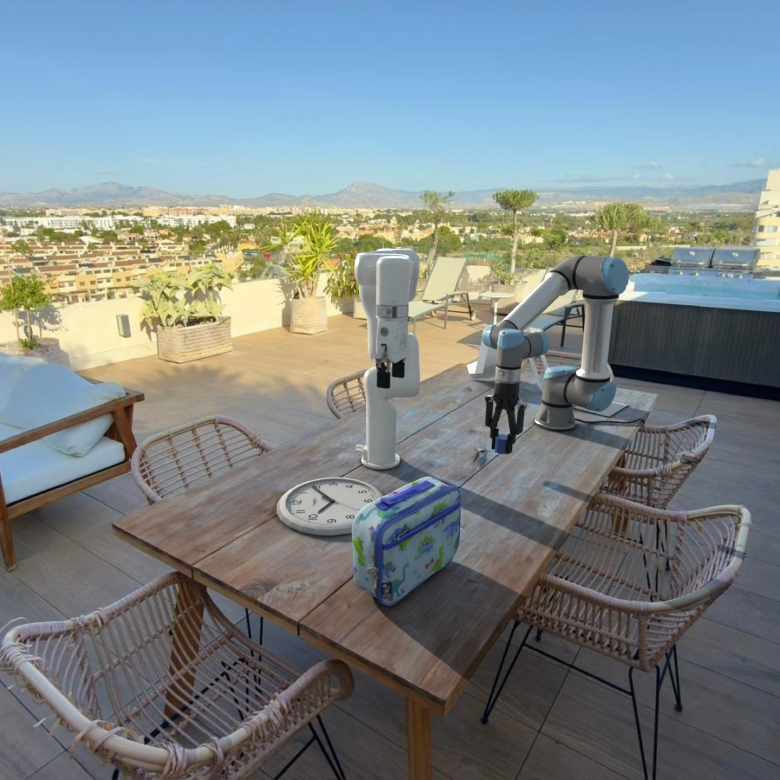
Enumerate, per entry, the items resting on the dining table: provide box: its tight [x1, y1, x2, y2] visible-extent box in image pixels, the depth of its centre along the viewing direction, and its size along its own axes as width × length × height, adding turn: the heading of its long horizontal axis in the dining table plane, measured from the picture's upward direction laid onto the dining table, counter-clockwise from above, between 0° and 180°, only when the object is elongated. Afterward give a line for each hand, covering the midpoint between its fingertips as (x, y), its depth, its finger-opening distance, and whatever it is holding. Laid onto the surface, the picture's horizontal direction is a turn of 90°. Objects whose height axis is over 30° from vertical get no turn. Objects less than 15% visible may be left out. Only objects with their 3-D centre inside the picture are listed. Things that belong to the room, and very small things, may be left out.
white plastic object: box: [466, 325, 550, 392], centre depth 255 cm, size 37×45×31 cm
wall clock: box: [276, 476, 385, 537], centre depth 142 cm, size 30×2×30 cm
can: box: [494, 433, 508, 455], centre depth 166 cm, size 4×4×5 cm
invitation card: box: [573, 400, 629, 418], centre depth 226 cm, size 21×1×15 cm
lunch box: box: [351, 476, 462, 607], centre depth 111 cm, size 26×11×21 cm, turn 135°
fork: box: [473, 440, 487, 463], centre depth 176 cm, size 3×16×2 cm, turn 160°
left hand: (391, 382), depth 126 cm, fingers open, 9 cm apart
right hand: (501, 450), depth 167 cm, fingers closed on can, 4 cm apart
